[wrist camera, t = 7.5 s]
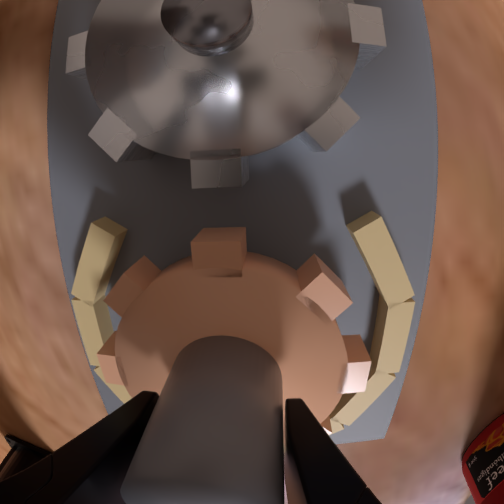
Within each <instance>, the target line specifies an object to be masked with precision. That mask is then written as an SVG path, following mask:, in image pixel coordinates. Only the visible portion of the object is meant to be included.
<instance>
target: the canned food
mask: <svg viewBox="0 0 504 504" xmlns="http://www.w3.org/2000/svg"><path fill="white" fill-rule="evenodd" d="M462 471H463V475H464V477H465V479H466V482H467V484H468V486H469V489H470V491H471V494H472V496H473V498H474V501H475V503H476V504H504V414H502V415H501V416H500V417H498V418H497V419H496V420H494V421H493V422H492V423H491V424H490V425H489V426H487V427H486V428H485V429H484V430H483V431H482V432H481V433H480V434H479V435H478V436H477V438H476V439H475V440H474V441H473V442H472V443H471V445H470V446H469V447H468V449H467V451H466V452H465V454H464V457H463V459H462Z"/></svg>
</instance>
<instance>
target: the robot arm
mask: <svg viewBox="0 0 504 504" xmlns="http://www.w3.org/2000/svg"><path fill="white" fill-rule="evenodd" d="M158 398H159V394H158V393H157V392H154V391H146V390H144V391H141V392H140V393H139V394H137V395H136V396H134V397H133V398H132V399H130V400H129V401H127V402H126V403H125V404H123V405H122V406H120V407H119V408H117V409H116V410H115V411H113V412H112V413H110V414H109V415H108V416H106V417H105V418H103V419H102V420H100V421H99V422H97V423H96V424H95V425H93V426H92V427H90V428H89V429H87V430H86V431H84V432H83V433H81V434H80V435H78V436H77V437H75V438H74V439H72V440H71V441H69V442H68V443H66V444H65V445H63V446H62V447H60V448H59V449H57V450H56V451H54V452H53V454H51V453H49V452H47V451H44V450H42V449H39V448H37V447H35V446H32V445H30V444H28V443H25V442H23V441H21V440H19V439H17V438H15V437H13V436H10V435H8V434H6V436H5V439H6V441H7V442H8V444H9V445H10V446H11V448H12V449H11V450H10V451H9V453H8V454H7V456H6V457H5V458H4V460H3V461H2V463H1V464H0V504H126V503H125V502H124V500H123V498H122V496H121V493H120V489H121V486H122V484H123V481H124V479H125V476H126V474H127V471H128V469H129V467H130V464H131V462H132V459H133V457H134V455H135V452H136V450H137V447H138V445H139V443H140V440H141V438H142V436H143V433H144V431H145V428H146V426H147V424H148V421H149V419H150V417H151V414H152V412H153V410H154V407H155V405H156V403H157V401H158ZM284 476H285V484H286V492H287V499H288V504H382V503H381V502H380V501H379V500H378V499H377V498H376V496H375V495H374V494H373V493H372V491H371V490H370V489H369V488H368V487H367V485H366V484H365V482H364V481H363V480H362V479H361V477H360V476H359V475H358V473H357V472H356V471H355V470H354V468H353V467H352V466H351V464H350V463H349V462H348V460H347V459H346V458H345V456H344V455H343V454H342V452H341V451H340V450H339V448H338V447H337V446H336V444H335V443H334V442H333V440H332V439H331V438H330V436H329V435H328V434H327V432H326V431H325V430H324V428H323V427H322V425H321V424H320V423H319V421H318V420H317V419H316V417H315V416H314V414H313V413H312V412H311V410H310V409H309V408H308V406H307V405H306V403H305V402H304V401H303V399H301V398H287V399H286V401H285V417H284ZM366 487H367V488H366Z"/></svg>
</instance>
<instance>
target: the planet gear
mask: <svg viewBox="0 0 504 504" xmlns="http://www.w3.org/2000/svg"><path fill="white" fill-rule="evenodd" d="M191 252H192V255H191V256H188V257H186V258H183V259H180V260H178V261H177V262H175V263H173V264H171V265H169V266H168V267H166V268H165V269H164V270H162V271H161V270H160V269H159V268H158V267H157V266H156V265H154V264H153V263H152V262H151V261H150V260H149V259H148V258H147V257H146V256H145V255H144V256H143V257H142V258H140V259H139V260H138V261H137V262H136V263H135V264H133V265H132V266H131V267H130V268H129V269H128V270H126V271H125V272H124V273H123V275H122V276H121V277H120V279H119V280H118V281H117V283H116V284H115V285H114V287H113V288H112V289H111V291H110V292H109V293H108V295H107V296H106V298H105V299H104V300H103V301H104V302H105V303H106V304H107V305H108V306H109V307H111V308H112V309H113V310H114V311H115V312H116V313H117V314H118V315H119V316H121V317H122V318H121V321H120V323H119V325H118V329H117V331H114V333H113V334H112V335H111V336H110V337H109V339H108V340H107V341H106V342H105V344H104V345H103V346H102V347H101V349H100V350H99V351H98V352H97V357H98V360H99V364H100V367H101V370H102V373H103V375H104V378H105V381H106V383H111V384H117V385H123V386H125V388H126V390H127V392H128V393H129V395H130V396H131V397H132V398H133V397H134V396H136V395H137V394H139V393H140V392H141V391H144V390H146V391H154V392H157V393H158V394H159V398H158V401H157V403H156V405H155V407H154V410H153V412H152V414H151V417H150V419H149V421H148V424H147V426H146V428H145V431H144V433H143V436H142V438H141V440H140V443H139V445H138V447H137V450H136V452H135V455H134V457H133V459H132V462H131V464H130V467H129V469H128V471H127V474H126V476H125V479H124V481H123V484H122V486H121V489H120V493H121V496H122V498H123V500H124V502H125V503H126V504H284V417H285V401H286V399H287V398H301V399H303V401H304V402H305V403H306V405H307V406H308V408H309V409H310V410H311V412H312V413H313V414H314V416H315V417H316V419H317V420H318V421H319V423H320V424H321V425H322V427H323V428H324V430H325V431H326V432H327V434H328V435H330V434H332V428H331V422H330V416H329V415H330V414H331V412H332V411H333V410H334V408H335V407H336V405H337V404H338V402H339V401H340V398H341V396H342V394H344V393H356V392H365V389H366V384H367V380H368V376H369V371H370V366H371V359H370V356H369V354H368V352H367V349H366V347H365V345H364V343H363V340H362V338H361V336H360V334H357V335H341V332H340V329H339V327H338V324H337V321H336V317H338V316H339V315H340V314H341V313H342V312H343V311H344V310H346V309H347V308H348V307H349V306H350V305H351V304H352V303H353V302H352V300H351V298H350V296H349V294H348V292H347V290H346V288H345V286H344V284H343V282H342V280H341V279H340V278H339V277H338V276H337V275H336V274H335V273H334V272H333V271H332V270H331V269H330V268H329V267H328V266H327V265H326V264H325V263H324V262H323V261H322V260H321V259H320V258H319V257H318V256H317V255H316V254H315V253H314V254H313V255H312V256H311V257H310V258H309V259H308V260H307V261H306V262H305V263H304V264H303V265H302V266H301V267H300V268H299V269H297V270H295V269H294V268H292V267H290V266H289V265H287V264H285V263H283V262H280V261H278V260H276V259H274V258H271V257H268V256H264V255H261V254H258V253H253V252H247V242H246V227H219V228H203V229H202V230H201V231H200V232H199V233H198V234H197V236H196V237H195V238H194V239H193V240H192V241H191Z"/></svg>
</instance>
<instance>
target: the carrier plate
mask: <svg viewBox="0 0 504 504" xmlns="http://www.w3.org/2000/svg"><path fill="white" fill-rule="evenodd" d="M100 1H101V0H59V1H58V6H57V12H56V18H55V24H54V31H53V38H52V46H51V56H50V67H49V81H48V108H47V132H48V159H49V174H50V186H51V196H52V205H53V213H54V220H55V227H56V234H57V240H58V246H59V251H60V257H61V262H62V267H63V272H64V276H65V281H66V285H67V290H68V294H69V298H70V302H71V306H72V310H73V313H74V317H75V321H76V324H77V328H78V331H79V335H80V338H81V341H82V344H83V348H84V351H85V354H86V357H87V360H88V363H89V366H90V368H91V371H92V374H93V377H94V380H95V382H96V385H97V388H98V390H99V393H100V395H101V398H102V400H103V403H104V405H105V408H106V410H107V412H108V415H109V414H110V413H112V412H113V411H115V410H116V409H117V408H119V407H120V406H122V405H123V404H125V403H126V402H127V401H129V400H130V399H132V397H131V396H130V395H129V393H128V392H127V390H126V388H125V386H123V385H117V384H111V383H106V381H105V378H104V375H103V373H102V370H101V367H100V364H99V360H98V357H97V352H98V351H99V350H100V349H101V347H102V346H103V345H104V344H105V342H106V341H107V340H108V339H109V337H110V336H111V335H112V334H113V333H114V331H117V329H118V325H119V323H120V321H121V318H122V317H121V316H119V315H118V314H117V313H116V312H115V311H114V310H113V309H112V308H111V307H109V306H108V305H107V304H106V303H105V302H104V301H103V300H104V299H105V298H106V296H107V295H108V293H109V292H110V291H111V289H112V288H113V287H114V285H115V284H116V283H117V281H118V280H119V279H120V277H121V276H122V275H123V273H124V272H125V271H126V270H128V269H129V268H130V267H131V266H132V265H133V264H135V263H136V262H137V261H138V260H139V259H140V258H142V257H143V256H144V255H145V256H146V257H147V258H148V259H149V260H150V261H151V262H152V263H153V264H154V265H156V266H157V267H158V268H159V269H160V270H161V271H162V270H164V269H165V268H166V267H168V266H169V265H171V264H173V263H175V262H177V261H178V260H180V259H183V258H186V257H188V256H191V255H192V252H191V241H192V240H193V239H194V238H195V237H196V236H197V234H198V233H199V232H200V231H201V230H202V229H203V228H219V227H246V242H247V252H253V253H258V254H261V255H264V256H268V257H271V258H274V259H276V260H278V261H280V262H283V263H285V264H287V265H289V266H290V267H292V268H294V269H295V270H297V269H299V268H300V267H301V266H302V265H303V264H304V263H305V262H306V261H307V260H308V259H309V258H310V257H311V256H312V255H313V254H314V253H315V254H316V255H317V256H318V257H319V258H320V259H321V260H322V261H323V262H324V263H325V264H326V265H327V266H328V267H329V268H330V269H331V270H332V271H333V272H334V273H335V274H336V275H337V276H338V277H339V278H340V279H341V280H342V282H343V284H344V286H345V288H346V290H347V292H348V294H349V296H350V298H351V300H352V302H353V303H352V304H351V305H350V306H349V307H348V308H347V309H346V310H344V311H343V312H342V313H341V314H340V315H339V316H338V317H336V321H337V324H338V327H339V329H340V332H341V335H357V334H360V336H361V338H362V340H363V343H364V345H365V347H366V349H367V352H368V354H369V356H370V359H371V366H370V371H369V376H368V380H367V384H366V389H365V392H356V393H344V394H342V396H341V398H340V401H339V402H338V404H337V405H336V407H335V408H334V410H333V411H332V412H331V414H330V415H329V416H330V422H331V428H332V434H330V435H329V436H330V438H331V439H332V440H333V442H334V443H335V444H342V443H352V442H360V441H368V440H376V439H383V438H384V437H385V435H386V432H387V429H388V427H389V424H390V421H391V418H392V416H393V413H394V410H395V407H396V404H397V401H398V398H399V395H400V392H401V389H402V385H403V382H404V379H405V375H406V372H407V368H408V365H409V361H410V357H411V354H412V350H413V346H414V342H415V338H416V334H417V329H418V325H419V320H420V316H421V311H422V306H423V301H424V295H425V290H426V284H427V278H428V272H429V265H430V258H431V251H432V242H433V233H434V223H435V212H436V198H437V177H438V124H437V104H436V90H435V79H434V69H433V61H432V53H431V46H430V40H429V34H428V28H427V22H426V17H425V12H424V7H423V3H422V0H354V3H355V4H359V5H366V6H373V7H379V8H381V11H382V17H383V24H384V30H385V38H386V46H387V47H386V48H384V49H383V50H382V51H381V52H380V53H379V54H378V55H377V56H375V57H374V58H373V59H372V60H371V61H370V62H369V63H368V64H367V65H365V66H364V67H363V68H362V69H354V71H353V73H352V75H351V77H350V79H349V82H348V84H347V86H346V87H345V89H344V90H343V92H342V93H341V95H340V96H339V97H341V98H342V99H343V100H344V101H345V102H346V103H347V104H348V105H349V106H350V107H351V108H352V109H353V111H354V112H355V113H356V114H357V115H358V116H359V117H360V119H359V120H358V121H357V122H356V123H355V124H354V125H353V126H352V127H351V128H350V129H349V130H348V131H347V132H346V133H345V134H344V135H343V136H342V137H341V138H340V139H339V140H338V141H337V142H336V143H335V144H334V145H333V146H332V147H331V148H330V149H329V150H328V151H327V152H312V151H311V150H310V149H309V148H308V147H307V146H306V145H305V144H304V143H303V142H302V141H301V140H300V139H299V138H298V137H297V136H296V137H294V138H293V139H291V140H290V141H288V142H287V143H285V144H283V145H281V146H279V147H277V148H275V149H272V150H269V151H266V152H264V153H261V154H257V155H253V156H249V180H248V181H247V182H246V183H245V184H244V185H243V186H242V187H219V188H196V189H192V183H191V163H190V159H183V158H176V157H172V156H168V155H165V154H161V153H158V152H156V154H155V155H154V156H153V157H152V159H149V160H136V161H125V162H115V161H114V160H113V159H112V158H111V157H110V156H109V155H108V154H107V153H106V152H105V151H104V150H103V149H102V148H101V147H100V146H99V145H98V144H97V143H96V142H95V141H94V140H93V139H92V138H91V137H89V136H88V134H89V133H90V131H91V130H92V128H93V127H94V125H95V124H96V123H97V121H98V120H99V118H100V117H101V116H102V114H103V112H102V111H101V109H100V108H99V107H98V105H97V103H96V101H95V99H94V97H93V95H92V92H91V90H90V86H89V83H88V80H85V79H82V78H79V77H76V76H72V75H69V74H66V60H67V49H68V39H69V37H71V36H74V35H77V34H79V33H82V32H85V31H88V30H89V27H90V23H91V20H92V18H93V16H94V13H95V11H96V9H97V7H98V5H99V3H100Z"/></svg>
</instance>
